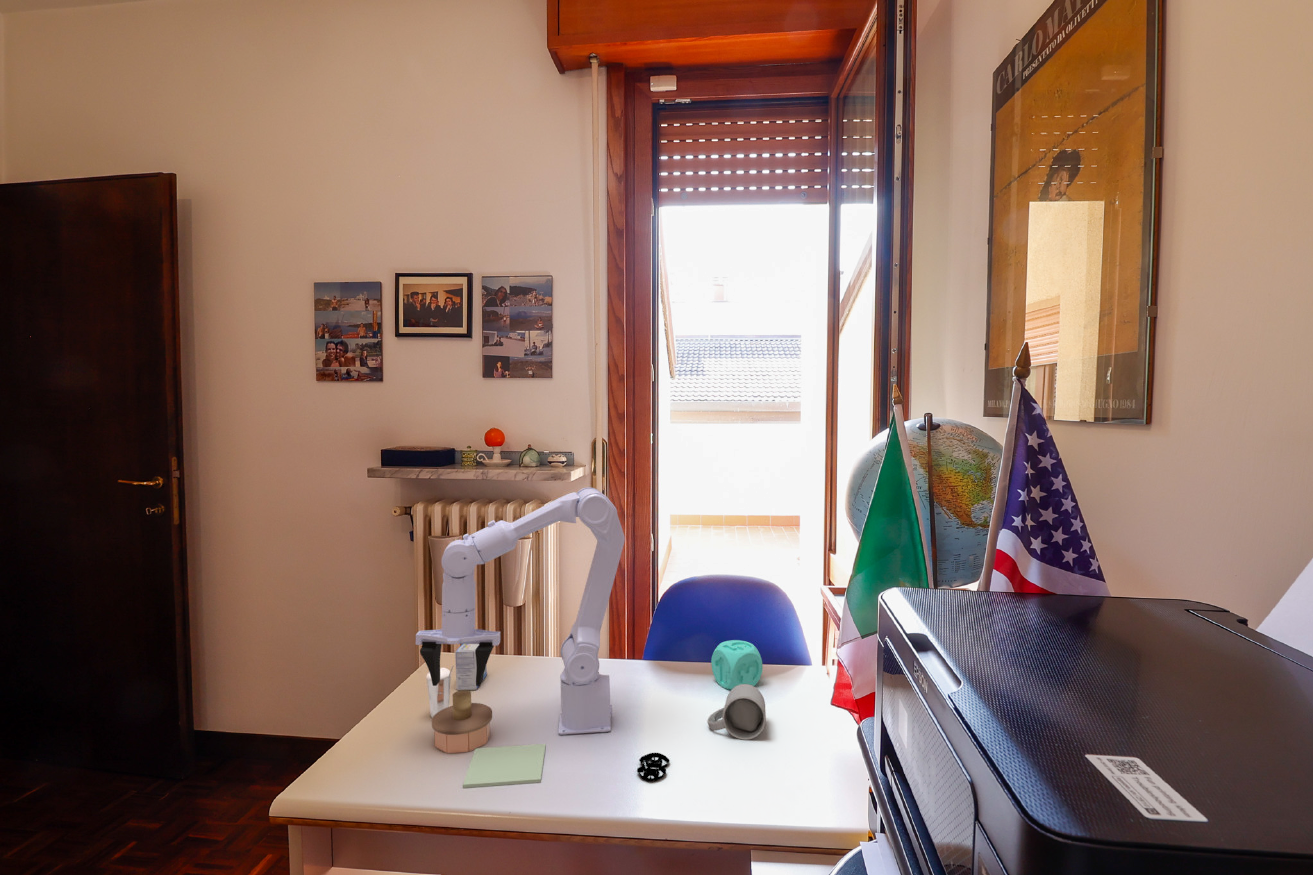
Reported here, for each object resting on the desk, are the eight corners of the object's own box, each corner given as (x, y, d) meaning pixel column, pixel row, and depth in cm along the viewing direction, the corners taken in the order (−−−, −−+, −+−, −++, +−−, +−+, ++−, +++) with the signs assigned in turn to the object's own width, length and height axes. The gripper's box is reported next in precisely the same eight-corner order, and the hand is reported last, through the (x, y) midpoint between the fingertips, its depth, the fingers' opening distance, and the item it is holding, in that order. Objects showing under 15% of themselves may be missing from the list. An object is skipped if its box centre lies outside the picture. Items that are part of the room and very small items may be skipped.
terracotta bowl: (492, 725, 120) (491, 707, 120) (484, 750, 111) (483, 730, 111) (443, 728, 120) (442, 710, 119) (431, 754, 111) (430, 734, 110)
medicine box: (476, 690, 136) (475, 650, 136) (455, 691, 136) (454, 650, 136) (487, 675, 144) (486, 637, 144) (467, 675, 144) (466, 637, 144)
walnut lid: (496, 705, 121) (495, 680, 121) (487, 732, 111) (486, 705, 111) (439, 708, 120) (438, 683, 120) (425, 736, 110) (424, 708, 110)
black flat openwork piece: (633, 783, 101) (633, 777, 101) (641, 756, 109) (641, 750, 109) (665, 785, 101) (665, 779, 100) (671, 758, 108) (671, 752, 108)
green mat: (545, 746, 112) (545, 743, 112) (540, 782, 102) (540, 779, 102) (475, 751, 111) (475, 748, 111) (462, 787, 100) (462, 784, 100)
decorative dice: (711, 680, 139) (710, 644, 139) (741, 672, 143) (740, 637, 143) (732, 694, 132) (731, 656, 132) (763, 686, 136) (763, 648, 136)
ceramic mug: (765, 719, 121) (764, 679, 121) (766, 741, 113) (765, 698, 113) (709, 717, 123) (708, 677, 122) (706, 738, 115) (704, 696, 114)
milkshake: (448, 722, 122) (446, 670, 122) (422, 720, 123) (421, 668, 123) (460, 711, 127) (458, 661, 126) (435, 709, 128) (434, 659, 127)
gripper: (409, 614, 111) (409, 692, 111) (494, 615, 111) (493, 693, 111) (423, 603, 118) (422, 676, 118) (503, 604, 118) (502, 677, 118)
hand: (457, 683), depth 115 cm, fingers open, 7 cm apart
